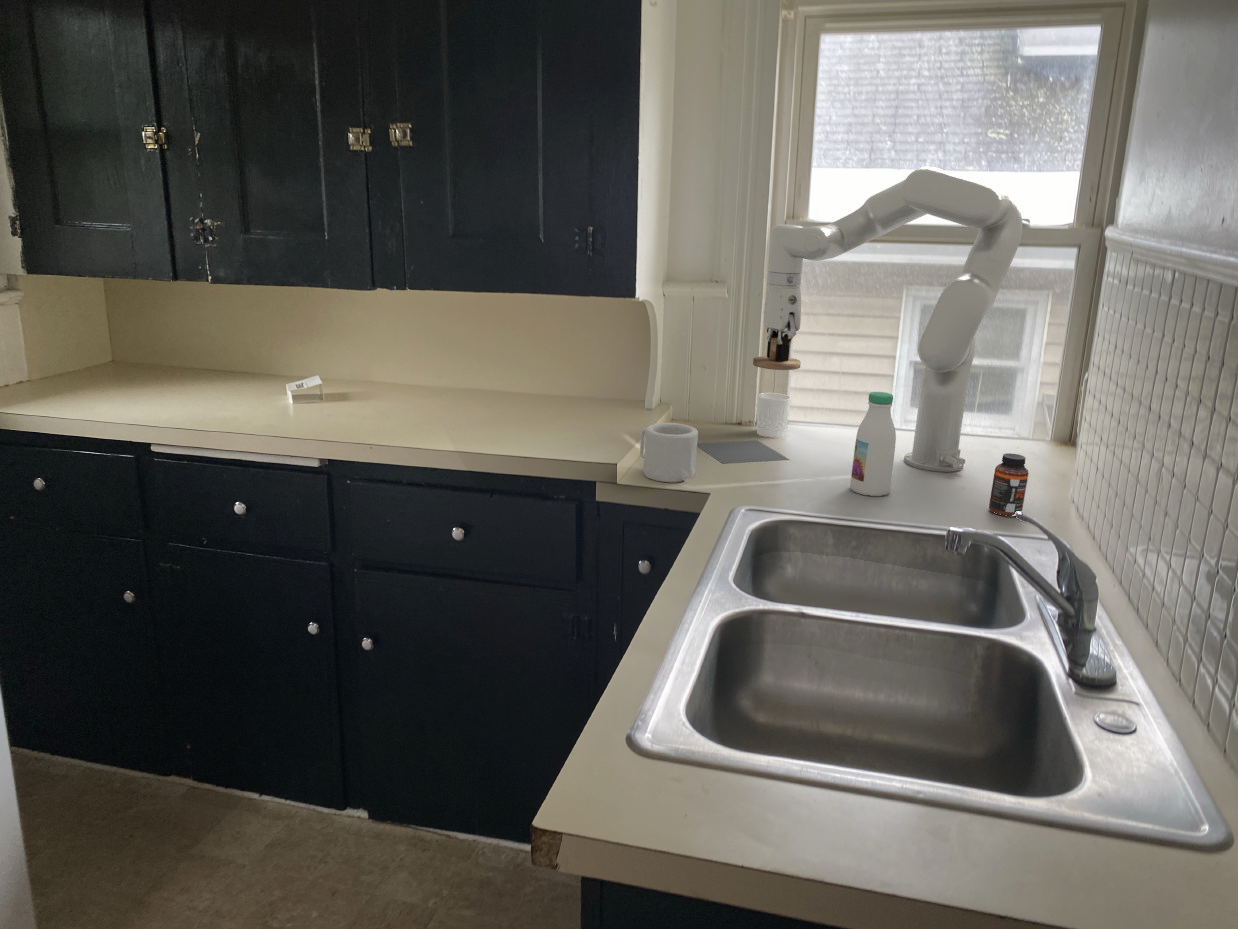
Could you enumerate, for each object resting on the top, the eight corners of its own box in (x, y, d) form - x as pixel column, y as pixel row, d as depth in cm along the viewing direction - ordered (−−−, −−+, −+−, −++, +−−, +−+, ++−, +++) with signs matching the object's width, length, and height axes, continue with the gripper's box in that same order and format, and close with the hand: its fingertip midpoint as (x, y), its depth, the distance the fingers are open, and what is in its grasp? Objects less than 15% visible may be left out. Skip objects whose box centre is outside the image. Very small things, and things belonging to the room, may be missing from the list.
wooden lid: (808, 369, 222) (811, 342, 220) (766, 370, 218) (768, 343, 217) (786, 360, 232) (788, 334, 230) (745, 361, 228) (746, 335, 227)
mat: (789, 463, 209) (789, 459, 209) (722, 467, 205) (722, 463, 204) (757, 443, 224) (757, 440, 224) (693, 446, 219) (694, 443, 219)
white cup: (786, 442, 226) (790, 401, 223) (753, 439, 227) (756, 398, 224) (787, 434, 233) (791, 394, 230) (755, 431, 235) (758, 391, 232)
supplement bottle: (1018, 520, 179) (1028, 462, 176) (985, 513, 182) (994, 456, 179) (1024, 511, 184) (1033, 455, 181) (991, 505, 187) (1000, 449, 184)
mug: (705, 476, 198) (709, 429, 195) (672, 487, 190) (675, 438, 187) (656, 461, 207) (658, 416, 204) (622, 471, 199) (624, 424, 196)
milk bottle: (890, 488, 195) (902, 392, 189) (888, 499, 188) (900, 399, 182) (852, 483, 197) (863, 388, 191) (847, 494, 190) (859, 395, 184)
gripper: (816, 284, 213) (808, 365, 218) (782, 276, 228) (775, 352, 233) (786, 284, 211) (779, 366, 216) (753, 276, 226) (747, 353, 231)
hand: (777, 358), depth 225 cm, fingers closed on wooden lid, 3 cm apart
